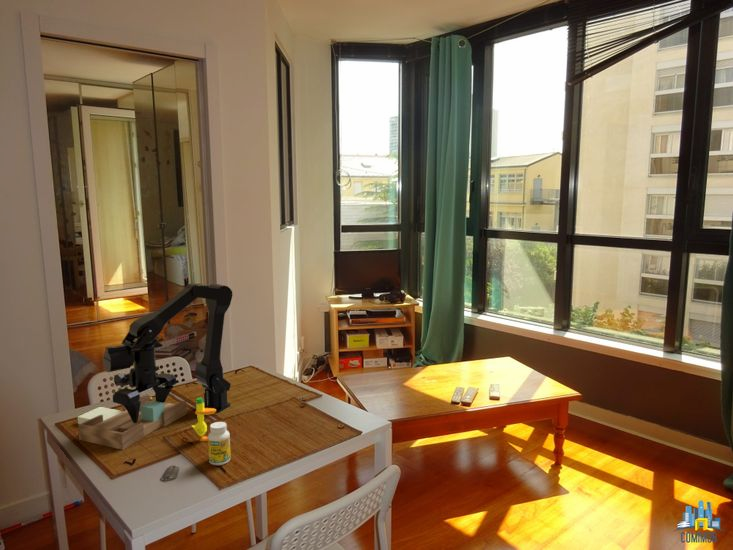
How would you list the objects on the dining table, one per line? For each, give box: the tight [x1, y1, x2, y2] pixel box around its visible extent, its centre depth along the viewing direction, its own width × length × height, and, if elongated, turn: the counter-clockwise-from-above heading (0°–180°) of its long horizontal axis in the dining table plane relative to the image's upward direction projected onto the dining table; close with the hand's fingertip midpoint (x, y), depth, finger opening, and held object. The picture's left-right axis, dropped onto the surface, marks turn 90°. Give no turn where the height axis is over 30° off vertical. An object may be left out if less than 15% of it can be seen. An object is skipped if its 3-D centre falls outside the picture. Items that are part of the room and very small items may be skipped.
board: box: [77, 406, 123, 425], centre depth 155 cm, size 10×8×2 cm
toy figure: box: [191, 397, 217, 442], centre depth 142 cm, size 7×4×12 cm, turn 99°
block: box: [141, 400, 165, 422], centre depth 151 cm, size 4×4×4 cm
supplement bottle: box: [207, 421, 232, 466], centre depth 131 cm, size 5×5×10 cm
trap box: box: [77, 393, 188, 451], centre depth 151 cm, size 16×25×4 cm, turn 159°
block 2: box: [160, 465, 180, 482], centre depth 125 cm, size 4×6×2 cm, turn 9°
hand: (147, 416), depth 150 cm, fingers open, 9 cm apart
